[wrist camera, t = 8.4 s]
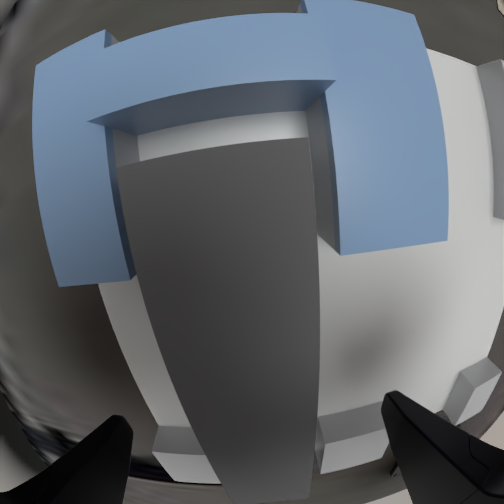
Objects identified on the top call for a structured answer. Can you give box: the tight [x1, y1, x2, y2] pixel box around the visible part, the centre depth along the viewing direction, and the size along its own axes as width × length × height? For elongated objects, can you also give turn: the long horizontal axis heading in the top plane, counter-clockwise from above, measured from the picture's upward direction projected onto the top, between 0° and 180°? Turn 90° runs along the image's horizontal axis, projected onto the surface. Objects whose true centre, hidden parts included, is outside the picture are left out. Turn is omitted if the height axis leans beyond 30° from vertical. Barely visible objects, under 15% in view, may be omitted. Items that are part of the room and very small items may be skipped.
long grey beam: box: [116, 137, 320, 504], centre depth 9 cm, size 16×4×4 cm, turn 7°
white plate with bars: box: [32, 0, 504, 483], centre depth 9 cm, size 22×22×4 cm
